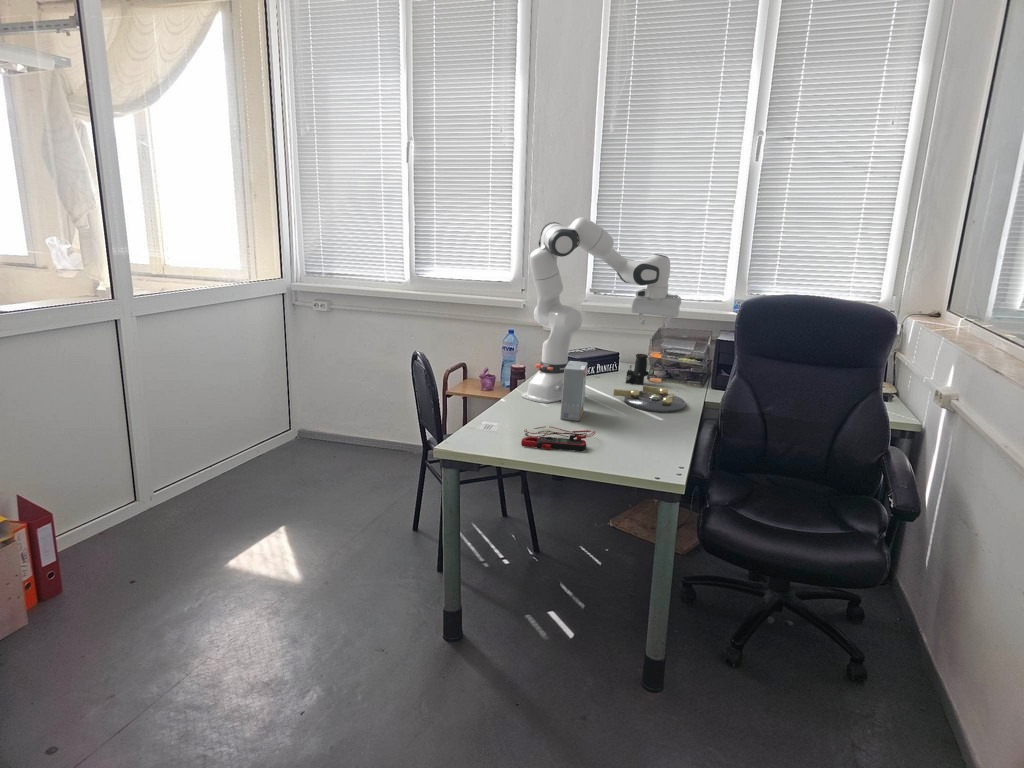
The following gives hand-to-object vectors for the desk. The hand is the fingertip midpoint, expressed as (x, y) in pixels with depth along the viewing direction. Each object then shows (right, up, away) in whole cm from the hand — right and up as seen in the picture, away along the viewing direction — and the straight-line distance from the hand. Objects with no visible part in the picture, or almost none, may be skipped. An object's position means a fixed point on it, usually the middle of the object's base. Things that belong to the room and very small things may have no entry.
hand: (653, 325), depth 273 cm
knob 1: (-13, -30, -5) cm, 33 cm away
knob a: (+1, -29, +2) cm, 29 cm away
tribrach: (-1, -34, -6) cm, 34 cm away
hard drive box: (-38, -37, -26) cm, 59 cm away
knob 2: (+4, -33, -11) cm, 35 cm away
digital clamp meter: (-45, -45, -53) cm, 83 cm away
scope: (-2, -25, +27) cm, 37 cm away
